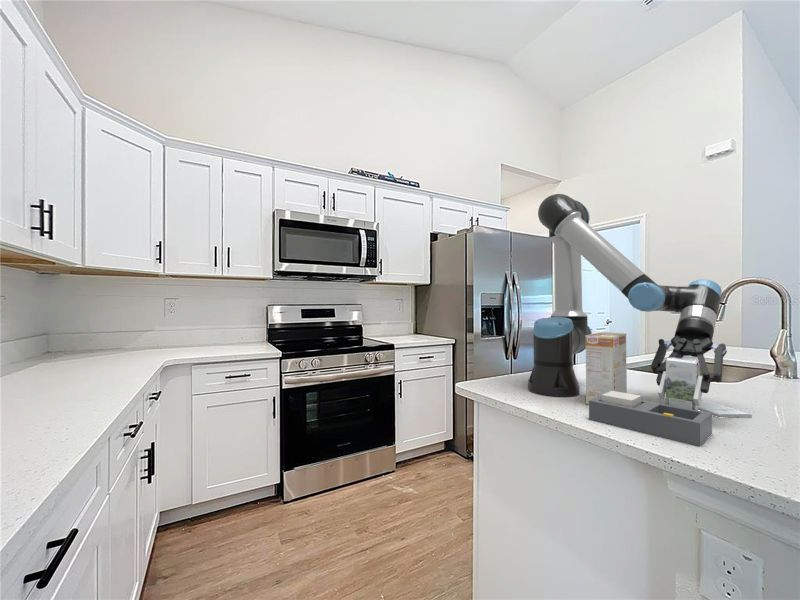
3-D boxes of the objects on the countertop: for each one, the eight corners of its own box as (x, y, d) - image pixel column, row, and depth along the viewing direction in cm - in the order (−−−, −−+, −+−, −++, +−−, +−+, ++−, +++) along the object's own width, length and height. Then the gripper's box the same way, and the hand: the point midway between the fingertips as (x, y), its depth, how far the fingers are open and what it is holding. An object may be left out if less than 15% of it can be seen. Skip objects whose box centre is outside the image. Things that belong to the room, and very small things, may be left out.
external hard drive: (707, 405, 100) (752, 420, 87) (678, 405, 99) (719, 420, 87) (707, 400, 100) (752, 413, 87) (678, 400, 99) (719, 413, 87)
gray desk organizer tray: (588, 419, 86) (588, 394, 86) (606, 410, 93) (606, 387, 93) (700, 446, 70) (700, 415, 70) (712, 433, 76) (711, 406, 76)
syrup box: (698, 418, 85) (699, 359, 86) (695, 424, 81) (695, 361, 81) (669, 413, 90) (669, 356, 90) (665, 418, 85) (665, 358, 86)
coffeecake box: (601, 394, 109) (601, 331, 109) (628, 399, 104) (627, 333, 104) (584, 404, 99) (584, 334, 99) (613, 410, 93) (613, 336, 94)
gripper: (747, 339, 88) (735, 418, 77) (655, 333, 103) (635, 399, 92) (743, 318, 84) (730, 398, 74) (649, 315, 99) (628, 382, 89)
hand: (678, 398), depth 83 cm, fingers closed on syrup box, 6 cm apart
